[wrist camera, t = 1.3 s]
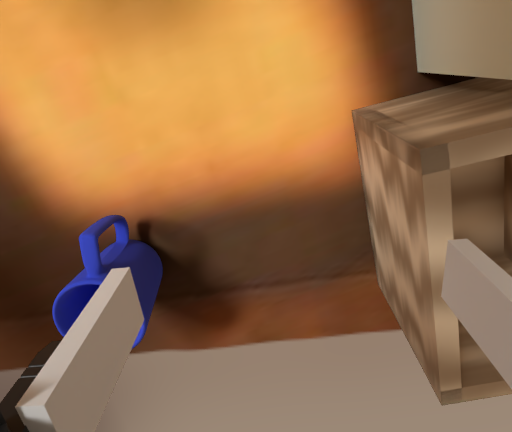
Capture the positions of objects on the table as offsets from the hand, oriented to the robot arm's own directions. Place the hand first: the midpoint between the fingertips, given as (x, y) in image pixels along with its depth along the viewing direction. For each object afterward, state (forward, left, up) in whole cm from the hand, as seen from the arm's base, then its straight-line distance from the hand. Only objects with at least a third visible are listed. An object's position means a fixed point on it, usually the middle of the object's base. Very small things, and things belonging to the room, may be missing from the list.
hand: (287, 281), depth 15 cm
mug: (+11, -15, -23) cm, 29 cm away
